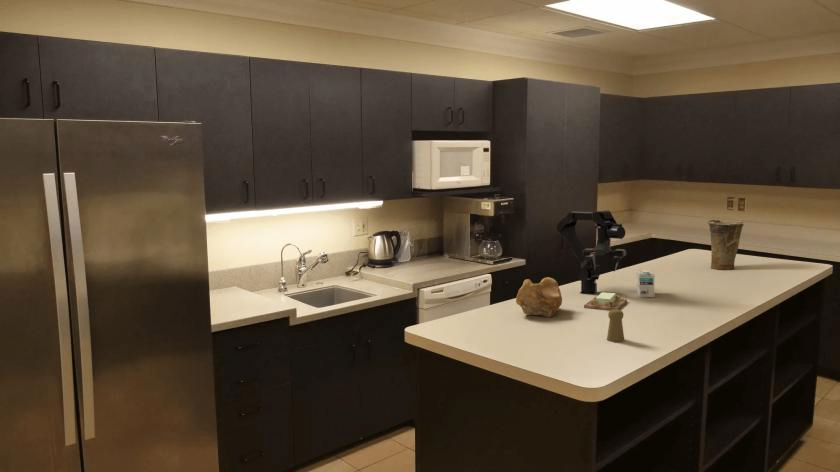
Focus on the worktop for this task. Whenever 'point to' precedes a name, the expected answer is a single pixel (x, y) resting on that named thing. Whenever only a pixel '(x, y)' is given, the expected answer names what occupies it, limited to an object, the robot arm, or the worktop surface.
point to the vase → (724, 243)
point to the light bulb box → (645, 283)
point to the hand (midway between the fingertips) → (604, 270)
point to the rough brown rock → (540, 297)
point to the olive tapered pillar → (615, 326)
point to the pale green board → (605, 298)
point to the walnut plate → (606, 304)
